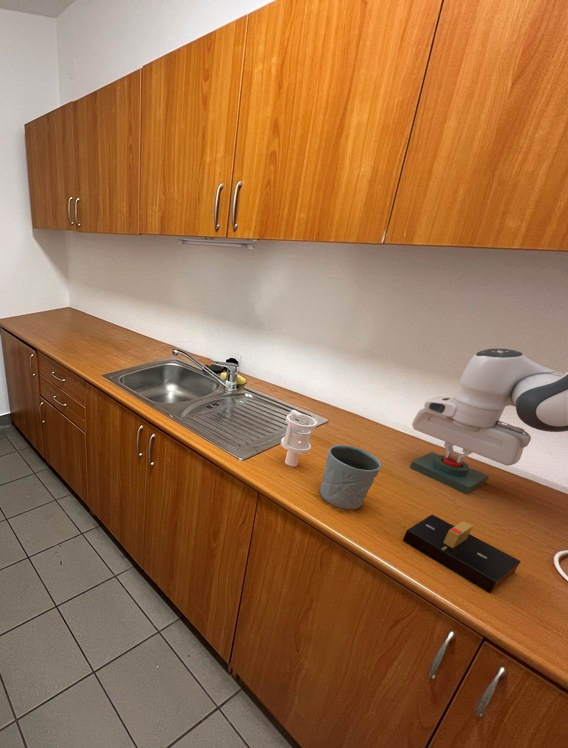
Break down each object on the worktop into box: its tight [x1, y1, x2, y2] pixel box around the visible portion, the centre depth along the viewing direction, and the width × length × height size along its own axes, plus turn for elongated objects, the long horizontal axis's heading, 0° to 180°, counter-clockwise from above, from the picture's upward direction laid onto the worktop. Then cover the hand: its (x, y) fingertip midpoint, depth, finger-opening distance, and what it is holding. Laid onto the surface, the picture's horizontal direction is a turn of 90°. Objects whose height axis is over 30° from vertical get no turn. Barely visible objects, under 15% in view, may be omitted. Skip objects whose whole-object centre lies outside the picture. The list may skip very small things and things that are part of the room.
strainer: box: [280, 409, 318, 468], centre depth 106 cm, size 7×7×15 cm
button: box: [442, 457, 463, 468], centre depth 102 cm, size 4×4×2 cm
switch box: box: [409, 451, 490, 495], centre depth 103 cm, size 12×10×4 cm
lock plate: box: [402, 514, 522, 594], centre depth 79 cm, size 14×10×3 cm
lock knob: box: [443, 520, 474, 548], centre depth 79 cm, size 6×2×4 cm, turn 116°
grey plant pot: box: [319, 444, 382, 510], centre depth 94 cm, size 10×10×12 cm
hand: (453, 460), depth 101 cm, fingers closed, pressing on button
